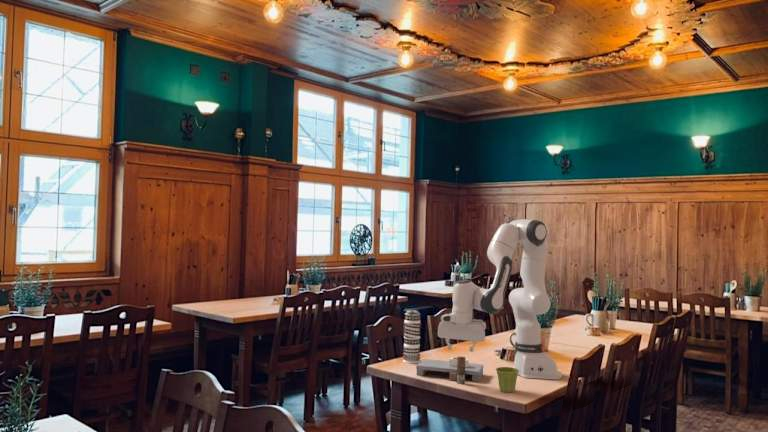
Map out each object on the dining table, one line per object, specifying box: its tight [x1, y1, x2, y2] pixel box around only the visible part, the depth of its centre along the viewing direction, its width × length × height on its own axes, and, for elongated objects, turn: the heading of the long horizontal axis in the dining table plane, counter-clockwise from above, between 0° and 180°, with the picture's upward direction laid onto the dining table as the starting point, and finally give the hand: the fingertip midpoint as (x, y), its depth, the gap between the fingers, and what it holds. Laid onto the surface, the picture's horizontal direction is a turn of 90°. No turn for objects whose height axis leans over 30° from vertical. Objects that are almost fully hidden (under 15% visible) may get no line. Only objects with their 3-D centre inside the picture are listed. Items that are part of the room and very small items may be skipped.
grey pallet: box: [415, 358, 484, 382], centre depth 259 cm, size 28×18×4 cm, turn 72°
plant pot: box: [495, 366, 519, 394], centre depth 236 cm, size 9×9×9 cm
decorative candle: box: [402, 309, 422, 364], centre depth 284 cm, size 9×9×25 cm
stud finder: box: [448, 356, 470, 367], centre depth 258 cm, size 8×4×3 cm, turn 72°
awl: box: [456, 355, 466, 385], centre depth 246 cm, size 4×4×11 cm
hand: (460, 350), depth 246 cm, fingers open, 8 cm apart
